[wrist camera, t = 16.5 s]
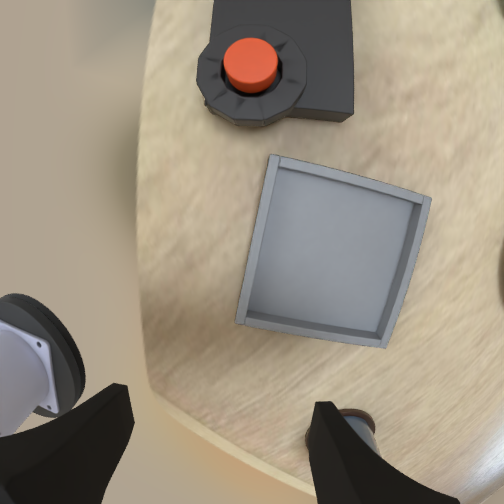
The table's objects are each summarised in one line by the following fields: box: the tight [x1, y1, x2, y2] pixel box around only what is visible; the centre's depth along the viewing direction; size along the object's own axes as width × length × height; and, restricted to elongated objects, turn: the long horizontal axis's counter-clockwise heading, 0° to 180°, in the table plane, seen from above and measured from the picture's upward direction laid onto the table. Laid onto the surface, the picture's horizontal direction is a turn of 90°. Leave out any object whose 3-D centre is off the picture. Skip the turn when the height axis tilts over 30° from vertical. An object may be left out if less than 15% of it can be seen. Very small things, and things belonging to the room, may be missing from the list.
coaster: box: [305, 409, 375, 450], centre depth 23 cm, size 6×6×1 cm
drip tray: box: [235, 154, 432, 349], centre depth 19 cm, size 10×10×2 cm
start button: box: [224, 38, 278, 93], centre depth 13 cm, size 2×2×2 cm
